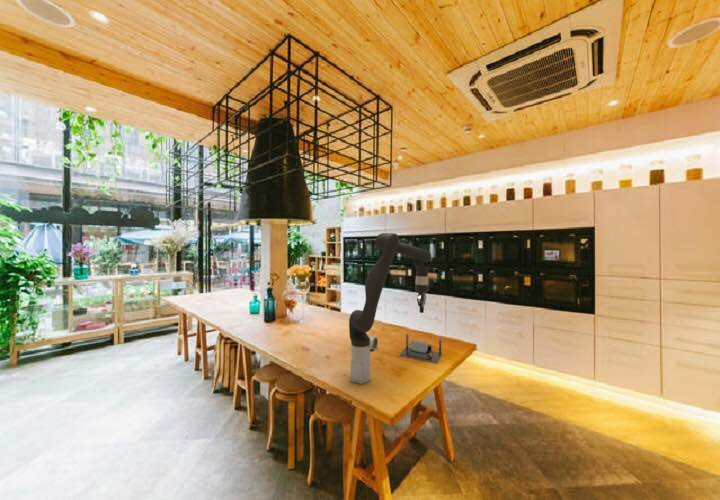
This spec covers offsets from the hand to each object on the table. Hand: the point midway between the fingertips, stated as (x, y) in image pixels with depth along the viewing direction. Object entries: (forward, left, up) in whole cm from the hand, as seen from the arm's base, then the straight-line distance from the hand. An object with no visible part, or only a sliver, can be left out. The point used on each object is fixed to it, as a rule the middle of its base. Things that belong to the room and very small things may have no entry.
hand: (421, 312), depth 160 cm
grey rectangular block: (-4, 0, -24) cm, 25 cm away
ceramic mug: (-6, +31, -26) cm, 41 cm away
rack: (-1, 0, -26) cm, 26 cm away
